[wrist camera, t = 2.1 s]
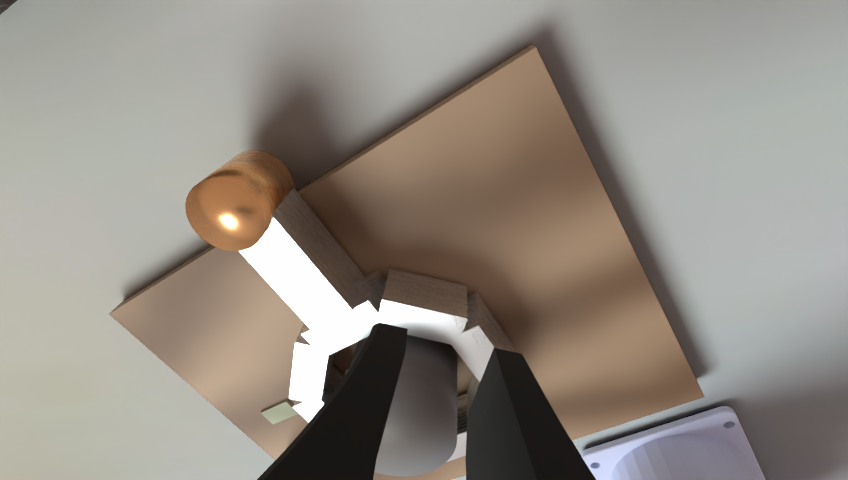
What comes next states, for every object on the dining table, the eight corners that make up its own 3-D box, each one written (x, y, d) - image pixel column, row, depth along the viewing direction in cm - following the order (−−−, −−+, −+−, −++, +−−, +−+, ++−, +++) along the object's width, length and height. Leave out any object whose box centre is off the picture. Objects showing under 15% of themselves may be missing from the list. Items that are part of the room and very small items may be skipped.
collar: (542, 387, 21) (554, 442, 19) (381, 447, 24) (372, 502, 22) (335, 86, 15) (310, 105, 13) (154, 213, 18) (103, 249, 16)
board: (694, 381, 22) (760, 488, 17) (342, 500, 29) (319, 601, 24) (531, 44, 16) (564, 66, 11) (122, 301, 22) (29, 386, 17)
